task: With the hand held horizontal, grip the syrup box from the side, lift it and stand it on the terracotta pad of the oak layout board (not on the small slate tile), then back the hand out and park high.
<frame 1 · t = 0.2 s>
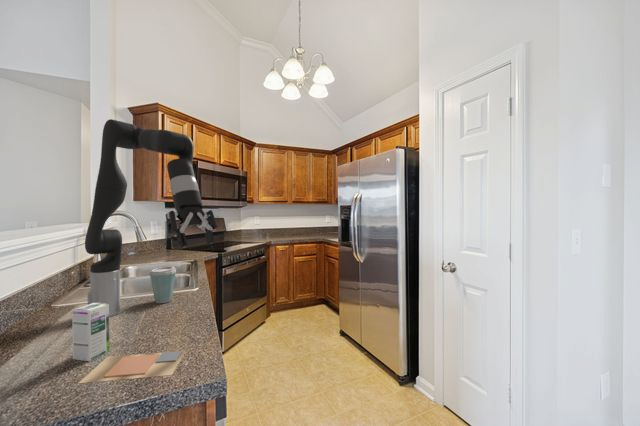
hand: (197, 245, 82), 31 cm above the worktop, tool tilted 20°, fingers open, 8 cm apart
slate tile: (169, 357, 76), resting on oak board
oak board: (137, 369, 72), on the worktop
disposable coffee cup: (163, 301, 127), on the worktop
terracotta pad: (133, 365, 72), resting on oak board
syrup box: (91, 359, 77), on the worktop
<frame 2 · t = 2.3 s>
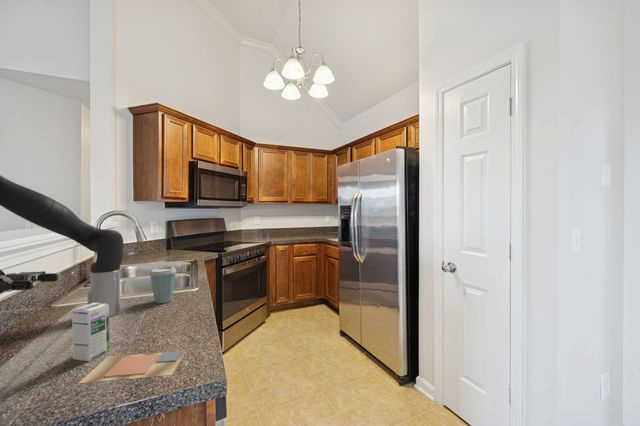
hand: (45, 280, 75), 22 cm above the worktop, tool horizontal, fingers open, 8 cm apart
nothing on the worktop moved.
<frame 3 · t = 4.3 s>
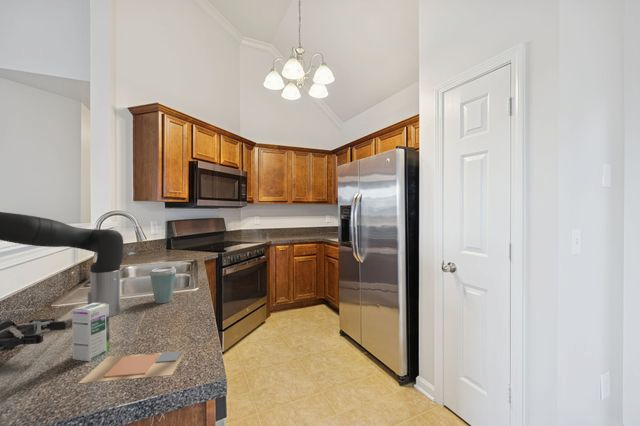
hand: (54, 331, 76), 8 cm above the worktop, tool horizontal, fingers open, 8 cm apart
nothing on the worktop moved.
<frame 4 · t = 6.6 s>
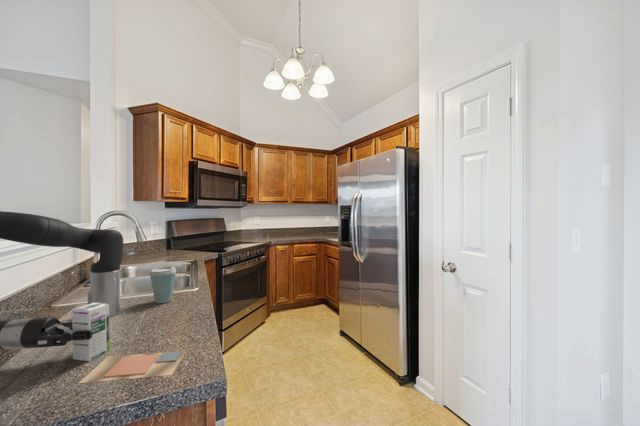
hand: (100, 328, 78), 8 cm above the worktop, tool horizontal, fingers closed on syrup box, 7 cm apart
syrup box: (91, 359, 77), on the worktop, touching gripper
everything else where it was.
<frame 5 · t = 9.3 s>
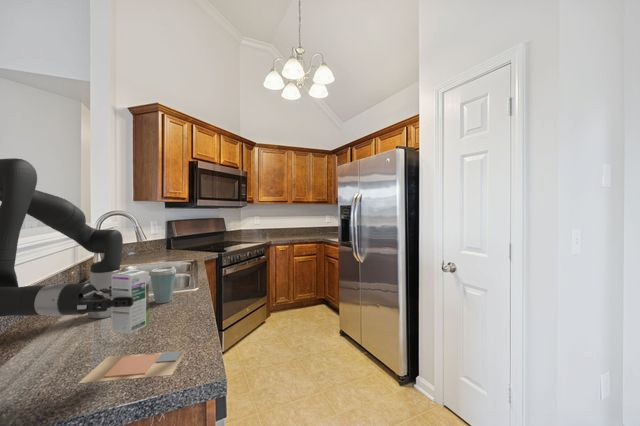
hand: (140, 296, 72), 19 cm above the worktop, tool horizontal, fingers closed on syrup box, 7 cm apart
syrup box: (130, 329, 72), point 10 cm above the worktop, touching gripper
everything else where it was.
when the fingers open (11 cm above the worktop, at t = 11.9 s): syrup box drops 1 cm, resting on terracotta pad.
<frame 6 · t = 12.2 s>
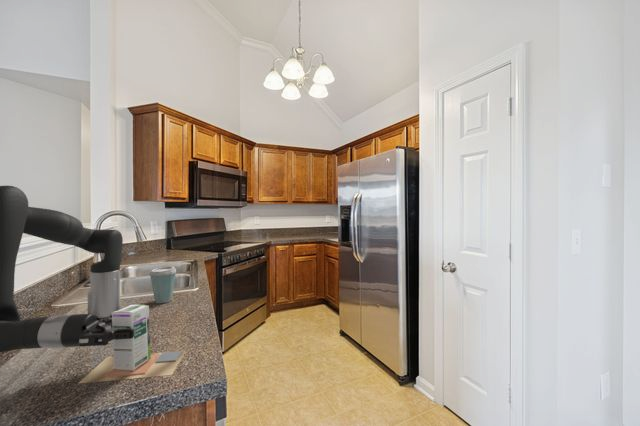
hand: (141, 326, 72), 11 cm above the worktop, tool horizontal, fingers open, 8 cm apart
syrup box: (132, 365, 72), point 1 cm above the worktop, touching terracotta pad
everything else where it was.
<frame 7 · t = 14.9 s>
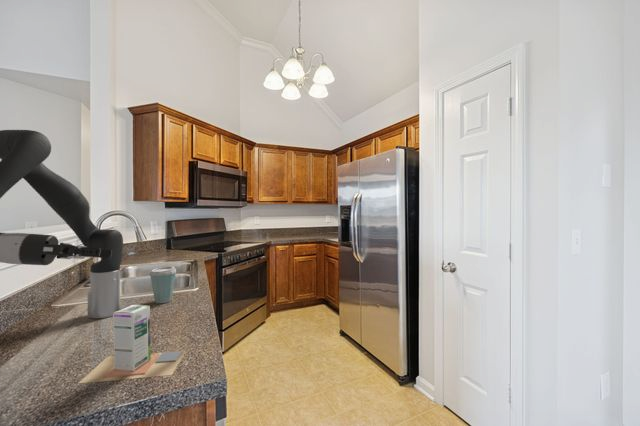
hand: (105, 253, 74), 29 cm above the worktop, tool horizontal, fingers open, 8 cm apart
nothing on the worktop moved.
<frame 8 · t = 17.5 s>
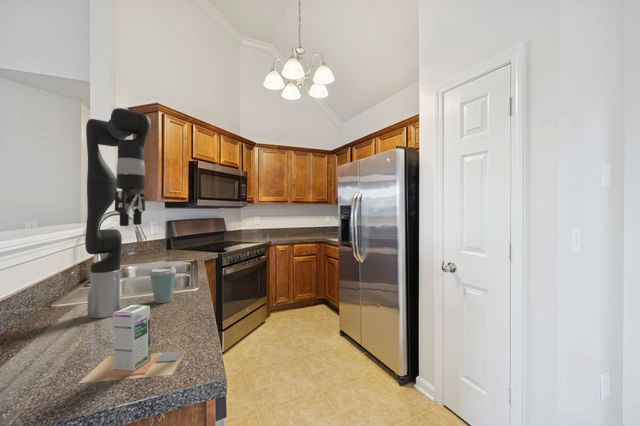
hand: (131, 225, 89), 36 cm above the worktop, tool pointing down, fingers open, 8 cm apart
nothing on the worktop moved.
at the end: syrup box inside the target area (0.2 cm from its centre), point 1.1 cm above the worktop; syrup box tilted 0°; the gripper is holding nothing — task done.
